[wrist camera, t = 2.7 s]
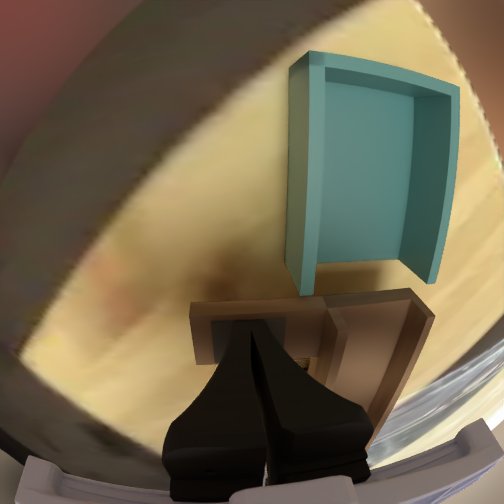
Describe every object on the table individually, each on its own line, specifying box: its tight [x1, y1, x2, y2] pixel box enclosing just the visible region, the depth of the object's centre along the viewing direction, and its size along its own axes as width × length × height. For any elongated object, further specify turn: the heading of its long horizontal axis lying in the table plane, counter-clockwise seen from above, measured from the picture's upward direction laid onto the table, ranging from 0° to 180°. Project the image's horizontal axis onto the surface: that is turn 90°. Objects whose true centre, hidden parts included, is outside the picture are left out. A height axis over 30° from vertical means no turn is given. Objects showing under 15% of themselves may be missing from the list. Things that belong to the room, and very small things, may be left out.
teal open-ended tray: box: [285, 51, 460, 296], centre depth 13 cm, size 10×8×4 cm
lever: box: [189, 288, 435, 451], centre depth 16 cm, size 18×12×3 cm, turn 0°
